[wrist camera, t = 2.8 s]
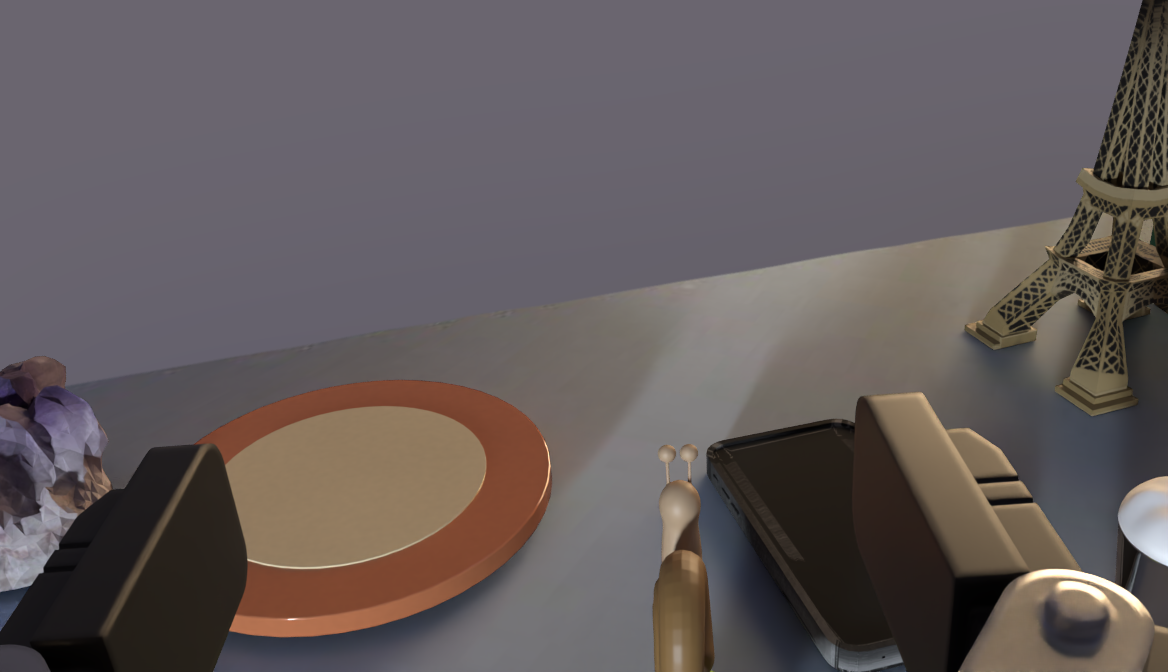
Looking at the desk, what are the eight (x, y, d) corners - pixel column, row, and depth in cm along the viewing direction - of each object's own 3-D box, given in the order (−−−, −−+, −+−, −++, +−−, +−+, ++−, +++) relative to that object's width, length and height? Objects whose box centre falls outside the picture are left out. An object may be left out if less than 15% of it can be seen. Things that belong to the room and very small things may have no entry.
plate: (75, 667, 43) (63, 633, 43) (210, 419, 60) (202, 391, 60) (553, 634, 43) (549, 599, 42) (553, 394, 60) (551, 366, 59)
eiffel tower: (1261, 373, 57) (1387, -149, 46) (1091, 416, 55) (1181, -126, 43) (1115, 296, 66) (1190, -156, 55) (964, 329, 64) (1010, -137, 52)
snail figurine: (766, 728, 38) (768, 437, 33) (786, 895, 33) (792, 577, 27) (610, 730, 39) (587, 443, 33) (604, 895, 33) (575, 581, 28)
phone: (849, 415, 54) (1032, 610, 41) (848, 434, 54) (1028, 633, 41) (697, 445, 52) (836, 657, 39) (697, 465, 53) (835, 681, 40)
